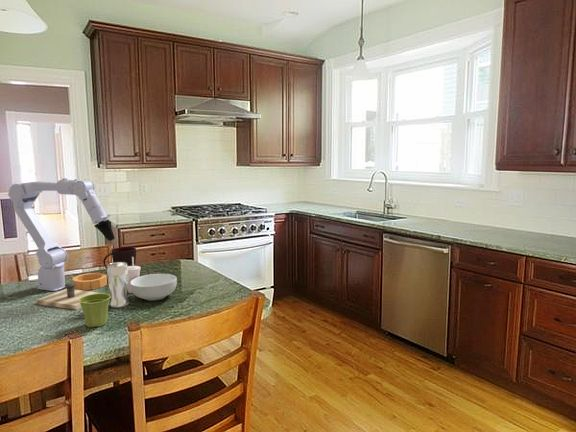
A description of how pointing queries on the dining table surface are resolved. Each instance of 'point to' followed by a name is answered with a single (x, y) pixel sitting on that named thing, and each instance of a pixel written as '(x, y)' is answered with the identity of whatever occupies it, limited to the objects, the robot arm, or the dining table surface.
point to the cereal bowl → (153, 286)
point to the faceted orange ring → (90, 281)
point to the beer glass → (118, 283)
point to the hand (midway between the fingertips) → (111, 239)
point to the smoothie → (132, 274)
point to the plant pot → (95, 309)
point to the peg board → (65, 298)
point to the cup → (122, 255)
